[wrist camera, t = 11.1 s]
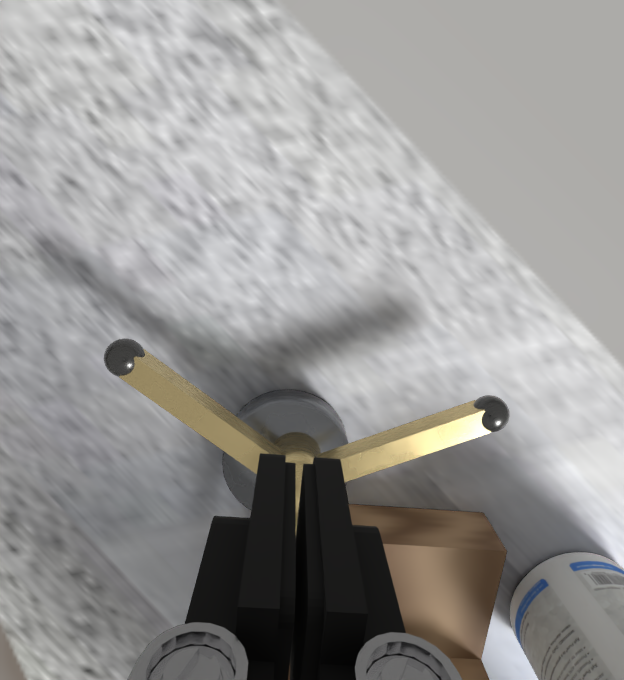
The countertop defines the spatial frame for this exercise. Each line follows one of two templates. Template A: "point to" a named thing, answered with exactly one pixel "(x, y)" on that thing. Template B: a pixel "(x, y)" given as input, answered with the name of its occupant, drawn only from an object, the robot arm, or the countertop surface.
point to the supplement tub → (572, 618)
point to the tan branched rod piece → (294, 424)
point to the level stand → (441, 576)
